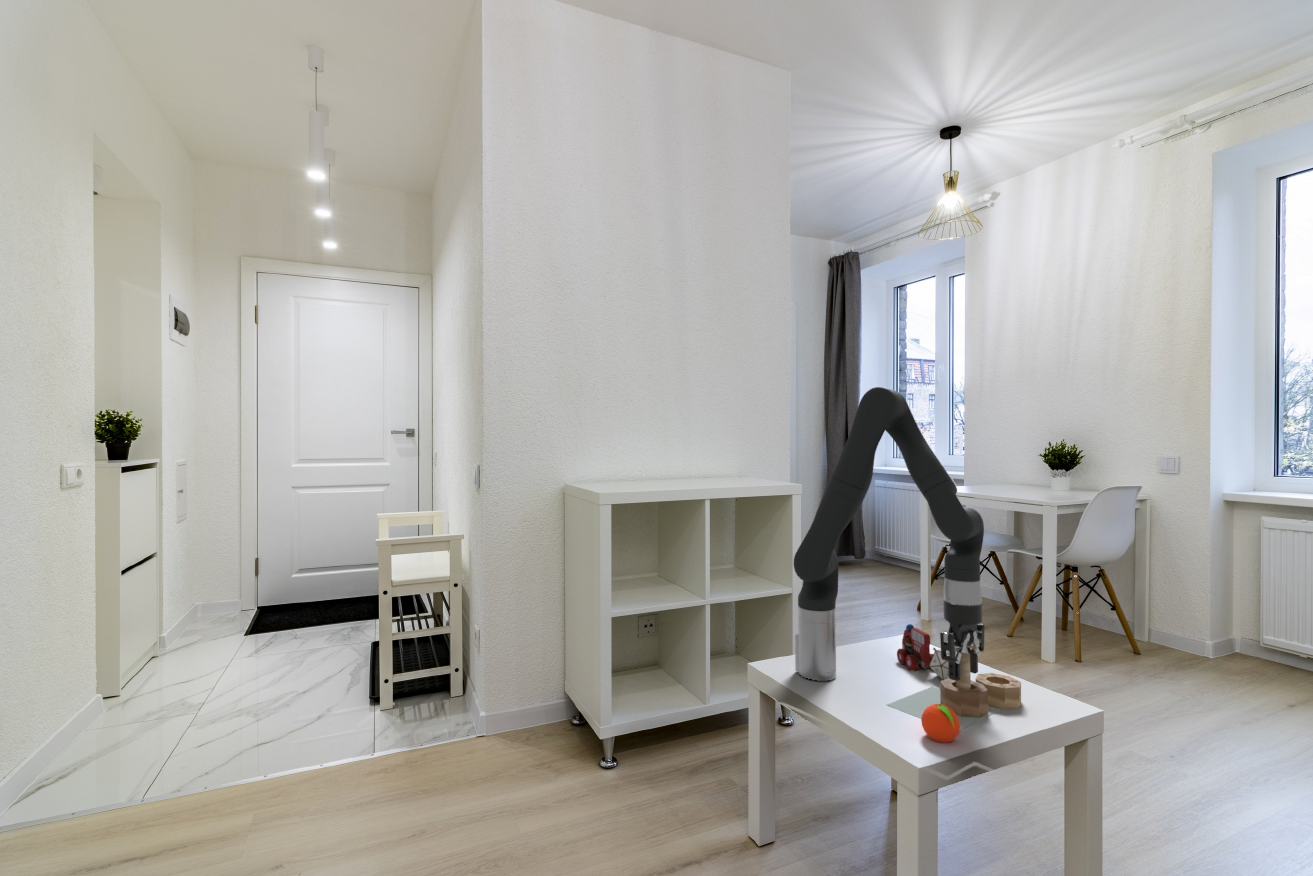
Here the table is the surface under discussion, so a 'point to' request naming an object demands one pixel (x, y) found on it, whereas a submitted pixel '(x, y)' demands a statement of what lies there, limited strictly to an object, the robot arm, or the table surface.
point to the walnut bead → (964, 698)
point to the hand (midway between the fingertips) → (963, 675)
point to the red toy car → (915, 649)
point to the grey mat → (931, 696)
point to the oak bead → (1001, 690)
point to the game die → (939, 665)
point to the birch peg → (964, 672)
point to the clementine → (940, 723)
